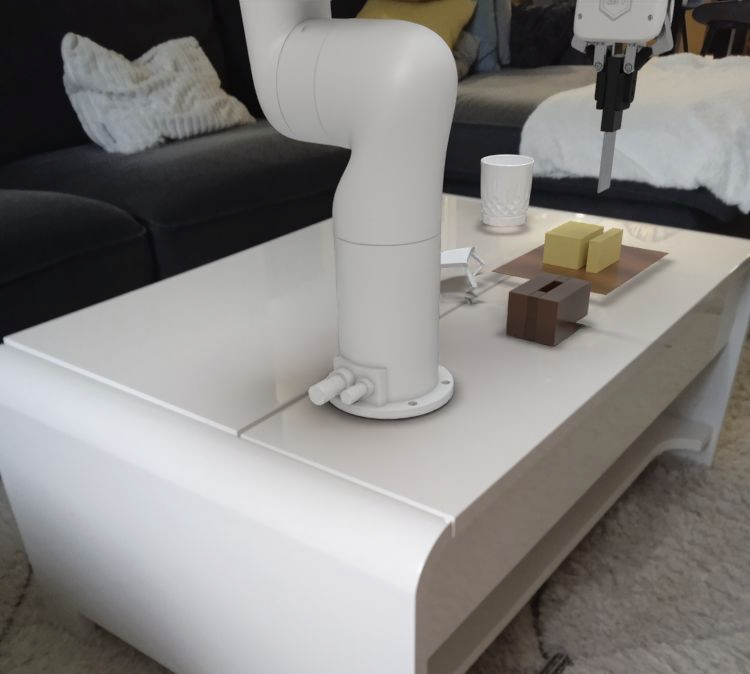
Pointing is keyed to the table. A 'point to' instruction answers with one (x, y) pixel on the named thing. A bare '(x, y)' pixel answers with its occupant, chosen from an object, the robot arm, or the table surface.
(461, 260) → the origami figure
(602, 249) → the butter slice
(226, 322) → the table surface
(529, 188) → the white cup
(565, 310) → the knife block
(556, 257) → the butter block
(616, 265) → the butter board
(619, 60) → the knife
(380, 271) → the robot arm
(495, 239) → the table surface
